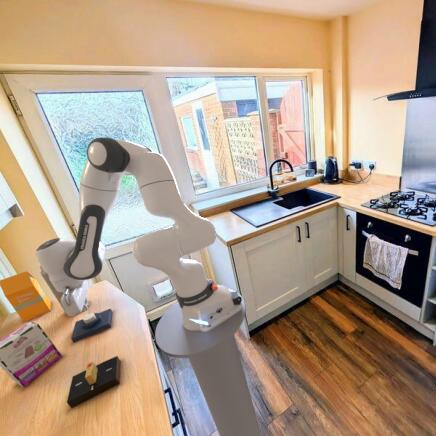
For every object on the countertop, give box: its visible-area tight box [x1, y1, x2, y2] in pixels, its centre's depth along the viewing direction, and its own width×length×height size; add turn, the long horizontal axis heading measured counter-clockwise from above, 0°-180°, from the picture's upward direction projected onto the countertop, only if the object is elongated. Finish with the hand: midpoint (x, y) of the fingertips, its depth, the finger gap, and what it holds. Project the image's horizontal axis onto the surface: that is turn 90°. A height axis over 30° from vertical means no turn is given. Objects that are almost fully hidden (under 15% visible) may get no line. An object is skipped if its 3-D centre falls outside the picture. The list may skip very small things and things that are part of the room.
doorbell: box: [70, 308, 113, 344], centre depth 98 cm, size 12×10×4 cm
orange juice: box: [0, 270, 52, 323], centre depth 106 cm, size 8×9×20 cm
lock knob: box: [85, 361, 98, 385], centre depth 74 cm, size 5×1×4 cm, turn 31°
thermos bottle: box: [39, 265, 67, 315], centre depth 104 cm, size 8×8×28 cm
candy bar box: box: [0, 320, 63, 388], centre depth 79 cm, size 11×5×16 cm, turn 161°
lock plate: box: [66, 355, 122, 409], centre depth 76 cm, size 12×9×3 cm
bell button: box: [82, 312, 96, 323], centre depth 97 cm, size 4×4×2 cm
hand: (86, 308), depth 96 cm, fingers closed
